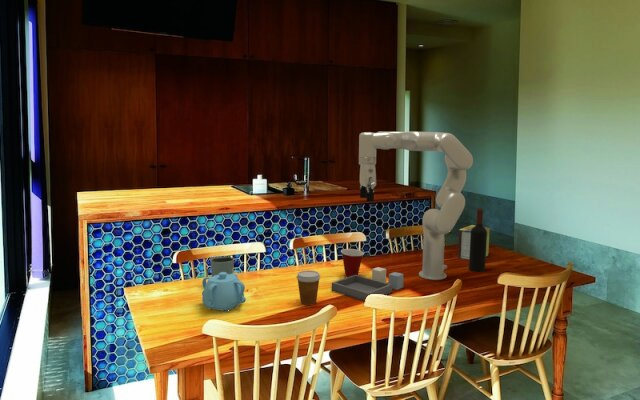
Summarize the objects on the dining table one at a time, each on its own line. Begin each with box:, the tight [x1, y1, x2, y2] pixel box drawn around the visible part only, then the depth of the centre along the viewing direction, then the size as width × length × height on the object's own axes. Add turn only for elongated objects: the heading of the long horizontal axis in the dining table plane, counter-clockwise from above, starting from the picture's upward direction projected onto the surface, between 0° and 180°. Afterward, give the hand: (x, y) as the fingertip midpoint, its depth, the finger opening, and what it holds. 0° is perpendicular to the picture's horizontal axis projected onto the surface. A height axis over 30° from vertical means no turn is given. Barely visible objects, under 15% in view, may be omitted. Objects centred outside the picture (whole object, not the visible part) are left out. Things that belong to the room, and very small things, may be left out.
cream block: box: [371, 266, 387, 283], centre depth 237 cm, size 4×4×6 cm
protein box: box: [457, 224, 491, 261], centre depth 279 cm, size 10×15×16 cm
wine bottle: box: [468, 208, 487, 273], centre depth 254 cm, size 8×8×30 cm
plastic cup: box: [340, 248, 365, 278], centre depth 245 cm, size 11×11×12 cm
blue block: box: [388, 271, 404, 291], centre depth 230 cm, size 4×4×6 cm
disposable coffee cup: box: [296, 270, 321, 306], centre depth 210 cm, size 10×10×12 cm
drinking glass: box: [209, 256, 235, 277], centre depth 231 cm, size 10×10×12 cm
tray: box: [331, 274, 393, 302], centre depth 224 cm, size 16×20×4 cm
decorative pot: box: [201, 272, 247, 312], centre depth 206 cm, size 16×16×14 cm
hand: (366, 199), depth 233 cm, fingers open, 9 cm apart
